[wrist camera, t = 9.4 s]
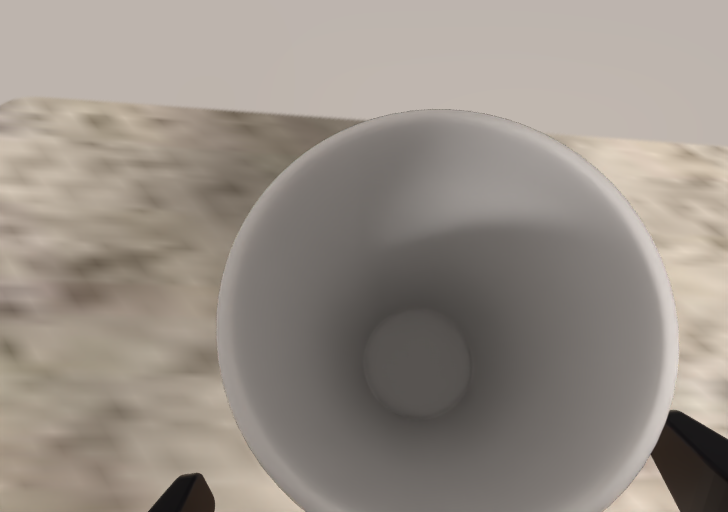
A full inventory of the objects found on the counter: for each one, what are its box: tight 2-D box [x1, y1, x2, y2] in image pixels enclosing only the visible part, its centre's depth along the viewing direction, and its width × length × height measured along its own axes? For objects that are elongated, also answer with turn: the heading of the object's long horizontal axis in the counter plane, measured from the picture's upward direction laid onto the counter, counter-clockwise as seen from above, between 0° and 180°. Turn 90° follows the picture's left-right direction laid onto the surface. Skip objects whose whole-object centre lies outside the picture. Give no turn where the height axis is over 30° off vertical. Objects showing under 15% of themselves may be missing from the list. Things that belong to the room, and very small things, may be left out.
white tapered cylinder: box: [216, 109, 679, 512], centre depth 13 cm, size 7×7×15 cm
